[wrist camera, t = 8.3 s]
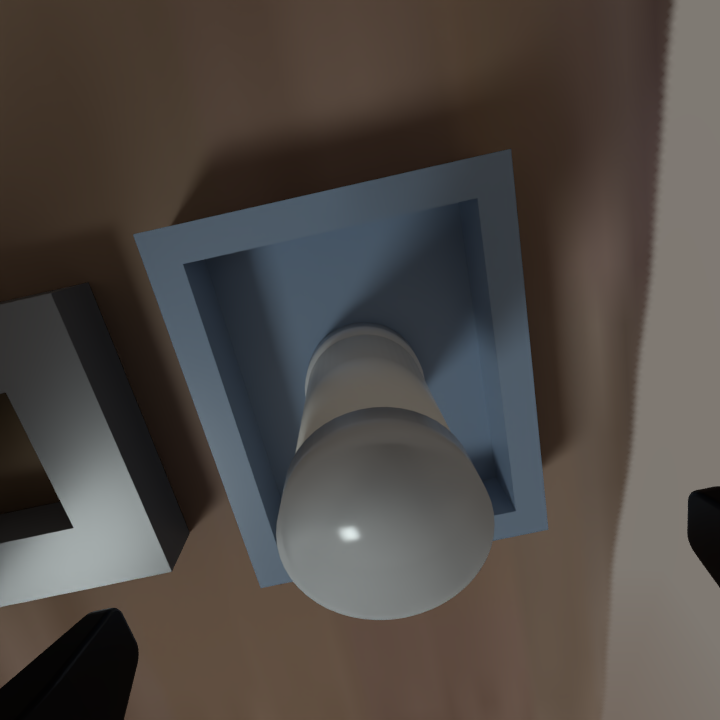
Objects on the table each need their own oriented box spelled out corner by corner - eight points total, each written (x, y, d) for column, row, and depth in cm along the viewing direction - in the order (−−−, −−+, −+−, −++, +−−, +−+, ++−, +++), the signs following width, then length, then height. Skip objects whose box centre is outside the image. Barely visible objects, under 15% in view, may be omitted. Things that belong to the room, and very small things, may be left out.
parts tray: (271, 538, 18) (260, 588, 16) (167, 230, 14) (133, 234, 12) (520, 486, 18) (547, 529, 15) (481, 159, 14) (510, 148, 12)
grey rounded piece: (321, 436, 16) (306, 637, 9) (295, 335, 15) (248, 464, 7) (427, 414, 16) (505, 597, 8) (408, 311, 15) (479, 415, 7)
